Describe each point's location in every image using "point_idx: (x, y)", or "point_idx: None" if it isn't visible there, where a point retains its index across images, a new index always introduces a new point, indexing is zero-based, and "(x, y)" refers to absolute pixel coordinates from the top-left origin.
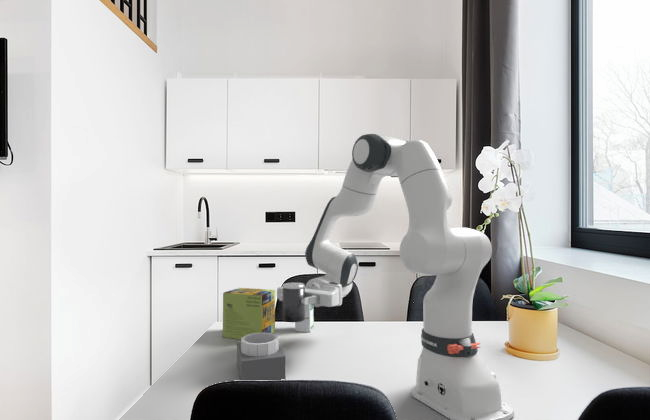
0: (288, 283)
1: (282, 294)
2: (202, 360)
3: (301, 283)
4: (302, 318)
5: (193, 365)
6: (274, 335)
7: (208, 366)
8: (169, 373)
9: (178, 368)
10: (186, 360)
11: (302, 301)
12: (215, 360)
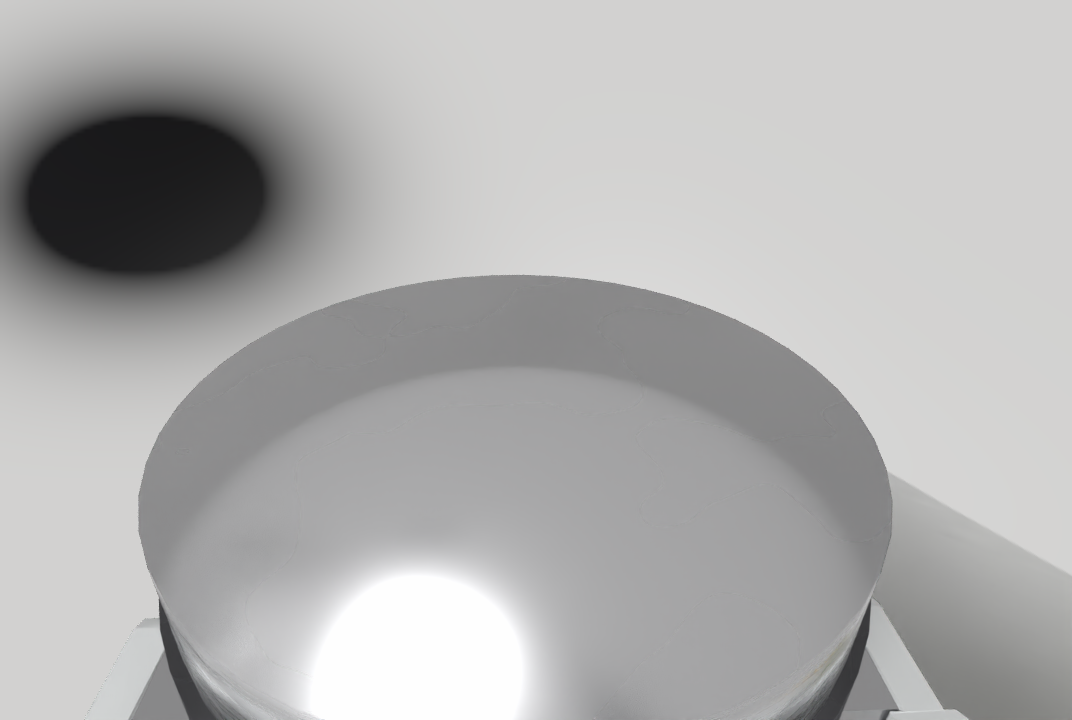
0: (768, 427)
1: (895, 660)
2: (1016, 634)
3: (357, 629)
4: None
5: (948, 569)
6: None
7: (886, 601)
8: (893, 476)
9: (940, 517)
10: (1059, 587)
11: None
12: (976, 679)
